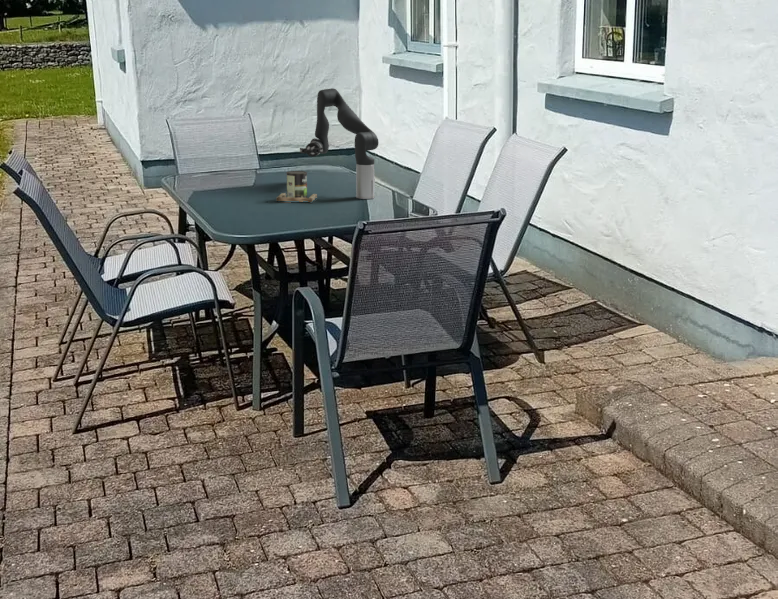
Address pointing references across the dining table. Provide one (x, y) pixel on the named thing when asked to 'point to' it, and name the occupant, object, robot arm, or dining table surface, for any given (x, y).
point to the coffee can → (297, 184)
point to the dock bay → (283, 198)
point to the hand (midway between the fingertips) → (308, 152)
